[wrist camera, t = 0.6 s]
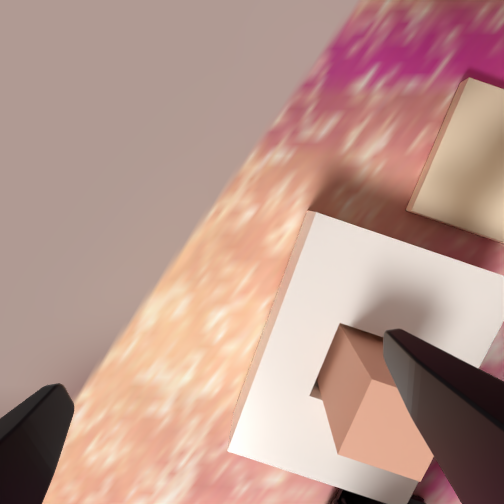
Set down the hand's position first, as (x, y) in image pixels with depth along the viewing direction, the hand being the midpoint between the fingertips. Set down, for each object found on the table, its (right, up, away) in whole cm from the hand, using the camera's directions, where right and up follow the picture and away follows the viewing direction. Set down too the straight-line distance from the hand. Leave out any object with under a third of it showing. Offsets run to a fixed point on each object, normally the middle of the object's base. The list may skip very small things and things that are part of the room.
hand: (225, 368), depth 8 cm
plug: (+8, -3, +13) cm, 15 cm away
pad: (+16, +8, +10) cm, 21 cm away
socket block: (+8, -3, +13) cm, 15 cm away
